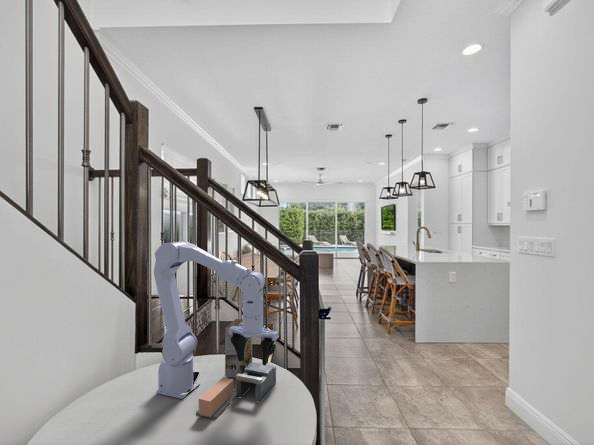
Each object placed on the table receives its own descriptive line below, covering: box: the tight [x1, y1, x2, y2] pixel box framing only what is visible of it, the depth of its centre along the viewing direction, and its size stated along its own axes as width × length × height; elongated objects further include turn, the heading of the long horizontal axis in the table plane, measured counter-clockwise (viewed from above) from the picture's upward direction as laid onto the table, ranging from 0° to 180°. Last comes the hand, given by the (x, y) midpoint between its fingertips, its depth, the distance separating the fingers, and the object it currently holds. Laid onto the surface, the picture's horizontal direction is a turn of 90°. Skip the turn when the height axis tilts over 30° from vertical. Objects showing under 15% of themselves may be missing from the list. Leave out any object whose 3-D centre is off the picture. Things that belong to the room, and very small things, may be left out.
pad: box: [195, 389, 237, 420], centre depth 83 cm, size 6×12×1 cm, turn 161°
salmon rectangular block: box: [198, 377, 234, 418], centre depth 82 cm, size 4×11×4 cm, turn 161°
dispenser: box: [235, 362, 277, 403], centre depth 89 cm, size 8×11×6 cm
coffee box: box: [224, 318, 253, 379], centre depth 100 cm, size 9×6×16 cm
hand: (253, 361), depth 86 cm, fingers open, 7 cm apart
